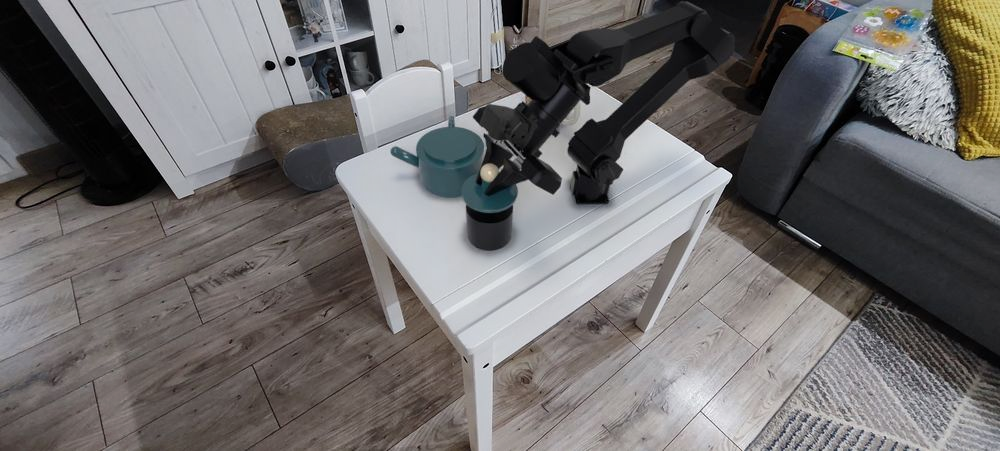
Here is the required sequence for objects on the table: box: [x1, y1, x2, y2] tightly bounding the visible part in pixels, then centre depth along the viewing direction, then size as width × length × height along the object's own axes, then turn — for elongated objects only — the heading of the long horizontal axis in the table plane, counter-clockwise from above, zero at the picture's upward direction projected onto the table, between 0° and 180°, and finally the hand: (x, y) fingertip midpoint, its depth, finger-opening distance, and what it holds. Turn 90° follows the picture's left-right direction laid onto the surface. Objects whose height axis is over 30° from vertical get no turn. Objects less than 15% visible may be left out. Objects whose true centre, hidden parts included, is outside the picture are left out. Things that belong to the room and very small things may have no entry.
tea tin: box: [465, 203, 514, 252], centre depth 79 cm, size 8×8×7 cm
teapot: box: [389, 115, 485, 198], centre depth 91 cm, size 18×17×8 cm
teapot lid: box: [461, 163, 519, 213], centre depth 72 cm, size 9×9×6 cm
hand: (481, 189), depth 73 cm, fingers closed on teapot lid, 3 cm apart
